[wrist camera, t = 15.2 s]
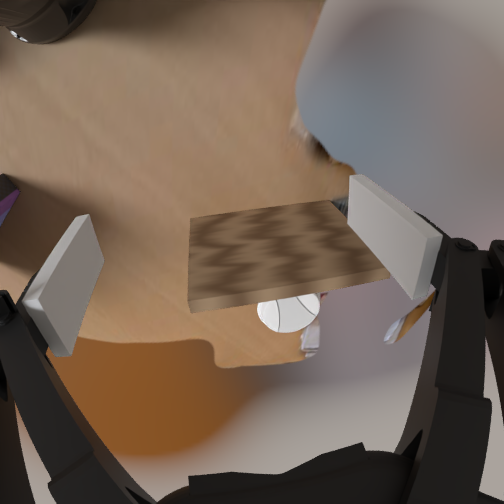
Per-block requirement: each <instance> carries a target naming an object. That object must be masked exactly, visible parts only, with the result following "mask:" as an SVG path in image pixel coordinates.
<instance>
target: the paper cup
mask: <svg viewBox="0 0 504 504" xmlns="http://www.w3.org/2000/svg"><path fill="white" fill-rule="evenodd" d="M319 308H320V293H313V294H308V295H302V296H297V297H291V298H285V299H279V300H274V301H268V302H262V303H258V309H257V311H258V315H259V318H260V319H261V321H262V322H263V323H264V324H266V325H267V326H268V327H269V328H270V329H272V330H274V331H276V332H286V333H288V332H294V331H297V330H300V329H302V328H304V327H306V326H307V325H308V324H310V323H311V322H312V321H313V320H314V318H315V317H316V316H317V314H318V312H319Z"/></svg>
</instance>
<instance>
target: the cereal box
mask: <svg viewBox="0 0 504 504" xmlns="http://www.w3.org/2000/svg"><path fill="white" fill-rule="evenodd" d="M20 192H21V191H20V190H19V189H18V188H17V187H16V186H15V185H14V184H13V183H12V182H11V181H10V180H9V179H8V178H7V177H6V176H5V175H4V174H1V175H0V227H1V225H2V223H3V221H4V219H5V218H6V216H7V214H8V212H9V211H10V209H11V207H12V205H13V204H14V202H15V200H16V199H17V197H18V195H19V194H20Z"/></svg>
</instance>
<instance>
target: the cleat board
mask: <svg viewBox="0 0 504 504" xmlns="http://www.w3.org/2000/svg"><path fill="white" fill-rule="evenodd" d="M347 220H348V219H347V218H346V217H345V216H344V215H343V214H342V213H341V212H340V211H339V210H338V209H337V208H336V207H335V206H334V205H333V204H332V203H331V202H330V201H329V200H326V201H318V202H309V203H301V204H292V205H284V206H276V207H269V208H261V209H254V210H246V211H239V212H232V213H225V214H218V215H211V216H205V217H198V218H191V219H190V239H189V265H188V304H189V308H190V312H191V313H196V312H203V311H210V310H217V309H223V308H230V307H237V306H243V305H249V304H256V303H262V302H268V301H274V300H279V299H285V298H291V297H297V296H302V295H308V294H313V293H319V292H324V291H329V290H334V289H339V288H344V287H350V286H354V285H359V284H364V283H369V282H374V281H378V280H383V279H388V278H390V272H389V271H388V270H387V269H386V267H385V266H384V265H383V264H382V263H381V261H380V260H379V259H378V258H377V257H376V256H375V254H374V253H373V252H372V251H371V250H370V249H369V247H368V246H367V245H366V244H365V243H364V242H363V241H362V240H361V238H360V237H359V236H358V235H357V234H356V233H355V232H354V231H353V229H352V228H351V227H350V226H349V225H348V224H347Z"/></svg>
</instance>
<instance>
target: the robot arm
mask: <svg viewBox="0 0 504 504" xmlns="http://www.w3.org/2000/svg"><path fill="white" fill-rule="evenodd" d="M96 1H97V0H0V26H5V27H6V28H7V29H8V30H9V31H10V32H11V33H12V34H13V35H14V36H15V37H16V38H17V39H19V40H21V41H23V42H27V43H33V44H46V43H50V42H53V41H56V40H58V39H60V38H62V37H64V36H66V35H67V34H69V33H70V32H72V31H73V30H74V29H75V28H77V27H78V26H79V25H80V24H81V23H82V22H83V21H84V19H85V18H86V17H87V16H88V15H89V13H90V12H91V10H92V8H93V7H94V5H95V3H96ZM347 224H348V225H349V226H350V227H351V228H352V229H353V231H354V232H355V233H356V234H357V235H358V236H359V237H360V238H361V240H362V241H363V242H364V243H365V244H366V245H367V246H368V247H369V249H370V250H371V251H372V252H373V253H374V254H375V256H376V257H377V258H378V259H379V260H380V261H381V263H382V264H383V265H384V266H385V267H386V269H387V270H388V271H389V272H390V273H391V275H393V277H394V278H395V279H396V281H397V282H398V283H399V284H400V285H401V287H402V288H403V289H404V290H405V292H406V293H407V294H408V295H409V297H410V298H411V299H412V300H414V299H417V298H421V297H424V296H427V294H428V291H429V287H430V284H432V285H433V286H434V287H435V288H436V290H435V294H434V297H433V300H432V303H431V306H430V309H429V311H431V318H430V324H429V330H428V335H427V341H426V346H425V351H424V356H423V360H422V365H421V369H420V374H419V378H418V382H417V386H416V390H415V394H414V398H413V402H412V405H411V408H410V412H409V415H408V418H407V422H406V425H405V428H404V431H403V434H402V437H401V439H400V441H399V443H398V445H397V447H396V449H395V451H394V453H392V452H386V451H366V450H365V448H364V445H363V443H362V442H361V443H358V444H355V445H352V446H348V447H345V448H341V449H338V450H335V451H331V452H328V453H324V454H321V455H319V456H317V457H315V458H314V459H312V460H310V461H308V462H305V463H303V464H301V465H300V466H297V467H295V468H293V469H291V470H289V471H287V472H285V473H282V474H274V475H273V474H253V473H238V472H226V473H217V474H207V475H195V476H188V478H189V486H186V487H183V488H181V489H178V490H176V491H174V492H172V493H170V494H168V495H167V496H165V497H164V498H162V499H161V500H160V501H158V502H156V501H155V500H154V499H153V498H152V497H151V496H150V495H149V494H147V493H146V492H145V491H144V490H143V489H142V488H141V487H140V486H139V485H138V484H137V483H136V482H135V481H134V479H133V478H132V477H131V476H130V475H129V474H128V473H127V471H126V470H125V469H124V468H123V467H122V466H121V464H120V463H119V462H118V461H117V459H116V458H115V457H114V456H113V454H112V453H111V452H110V451H109V449H108V448H107V447H106V446H105V445H104V443H103V442H102V440H101V439H100V438H99V436H98V435H97V434H96V432H95V431H94V429H93V428H92V427H91V425H90V424H89V422H88V421H87V420H86V418H85V417H84V415H83V414H82V412H81V411H80V409H79V408H78V406H77V405H76V403H75V402H74V400H73V398H72V397H71V395H70V394H69V392H68V391H67V389H66V387H65V386H64V384H63V382H62V381H61V379H60V377H59V375H58V374H57V372H56V370H55V369H54V367H53V365H52V363H51V361H50V360H49V358H48V357H47V356H46V351H47V348H48V346H49V348H50V349H51V351H52V352H53V354H54V355H55V357H62V356H71V355H72V352H73V348H74V345H75V342H76V338H77V336H78V333H79V329H80V326H81V323H82V320H83V317H84V315H85V312H86V309H87V306H88V303H89V300H90V298H91V295H92V292H93V289H94V287H95V284H96V282H97V279H98V276H99V274H100V271H101V269H102V266H103V264H104V261H105V260H104V258H103V255H102V252H101V249H100V246H99V243H98V240H97V237H96V234H95V231H94V228H93V225H92V222H91V218H90V215H89V214H86V215H82V216H77V217H76V218H75V219H74V220H73V222H72V223H71V224H70V226H69V227H68V229H67V230H66V232H65V233H64V234H63V236H62V237H61V239H60V240H59V242H58V243H57V245H56V246H55V248H54V249H53V251H52V252H51V254H50V255H49V257H48V258H47V260H46V261H45V263H44V265H43V266H42V268H41V269H39V270H38V271H37V272H36V273H35V274H34V275H33V276H32V278H31V279H30V281H29V282H28V284H27V285H28V286H26V287H25V289H24V292H22V294H21V296H20V298H19V299H18V301H17V303H16V305H15V304H14V302H13V300H12V298H11V296H10V294H9V293H8V291H7V290H0V504H35V501H34V498H33V494H32V491H31V487H30V483H29V479H28V475H27V471H26V467H25V462H24V458H23V453H22V448H21V443H20V437H19V431H18V425H17V418H16V410H15V403H16V405H17V408H18V410H19V413H20V415H21V417H22V420H23V422H24V425H25V427H26V429H27V431H28V434H29V436H30V438H31V440H32V442H33V444H34V446H35V448H36V450H37V452H38V454H39V456H40V458H41V460H42V462H43V464H44V466H45V468H46V469H47V471H48V473H49V475H50V477H51V481H50V482H49V483H48V489H49V491H50V493H51V495H52V497H53V498H54V500H55V501H56V503H57V504H504V501H502V500H499V499H497V498H494V497H492V496H489V495H486V494H484V493H482V492H480V491H479V487H480V483H481V478H482V474H483V469H484V464H485V458H486V452H487V446H488V439H489V432H490V423H491V414H492V402H491V400H490V399H488V398H484V396H483V395H484V394H483V392H484V377H485V336H486V340H487V343H488V347H489V351H490V355H491V359H492V363H493V367H494V372H495V377H496V382H497V387H498V392H499V397H500V403H501V410H502V416H503V424H504V240H493V241H492V242H491V245H490V248H489V251H486V250H478V247H477V246H476V245H475V244H474V243H472V242H471V241H469V240H466V239H463V238H450V237H449V236H448V235H447V234H446V233H444V232H443V231H442V230H441V229H440V228H438V227H436V225H434V224H433V223H432V222H430V220H428V219H427V218H426V217H424V216H423V215H421V214H419V213H416V212H414V211H412V210H411V209H409V208H408V207H407V206H406V205H404V204H403V203H402V202H400V201H399V200H398V199H396V198H395V197H394V196H392V195H391V194H390V193H388V192H387V191H385V190H384V189H383V188H381V187H380V186H379V185H377V184H376V183H374V182H373V181H371V180H370V179H369V178H367V177H366V176H364V175H350V180H349V203H348V220H347ZM14 400H15V401H14Z"/></svg>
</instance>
